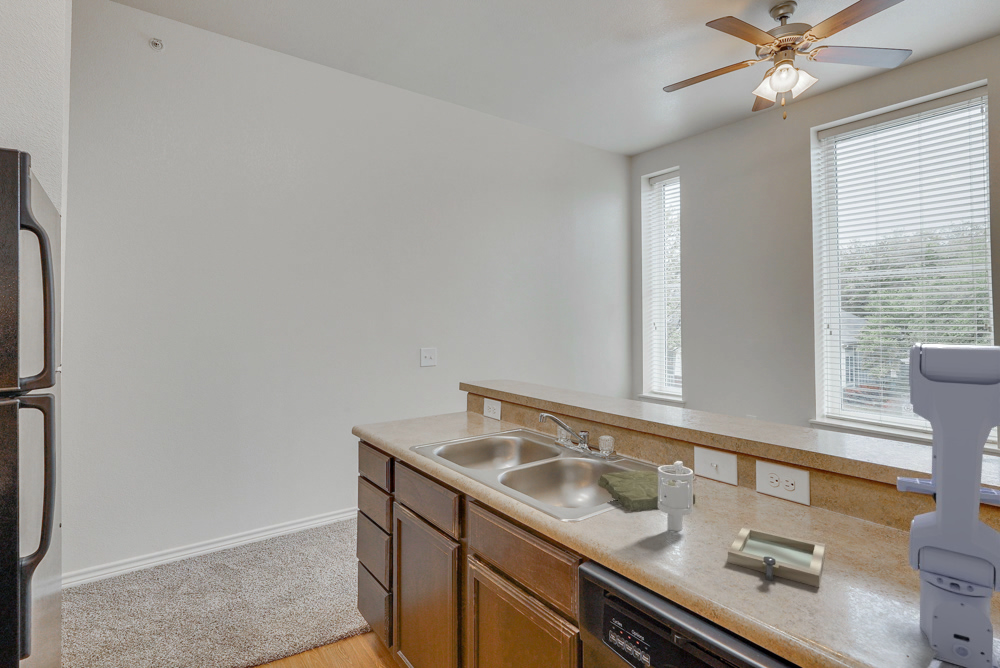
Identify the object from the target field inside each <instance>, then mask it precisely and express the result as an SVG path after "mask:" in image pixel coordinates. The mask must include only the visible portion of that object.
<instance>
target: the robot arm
mask: <svg viewBox="0 0 1000 668" xmlns="http://www.w3.org/2000/svg"><path fill="white" fill-rule="evenodd" d="M909 349H910V350H909V359H908V361H909V362H908V363H909V364H908V365H909V366H908V376H909V377H908V383H909V393H910V394H909V396H910V397H909V400H910V401H909V402H910V404H911V405H912V412H913V413H914V414H916V415H918V416H919V417H921V418H923V419H925V420H926V421H928V422H929V423H930V426H931V429H932V436H931V437H932V443H931V444H932V445H931V446H932V447H931V451H932V452H931V479H929V478H917V477H916V478H914V477H904V476H897V477H896V488H897V489H896V490H897V491H898V492H899V491H900V492H904V493H905V492H912V493H918V494H924V495H925V494H926V495H931V496H932V499H933V501H934V503H935V510H934V511H931V512H930V511H929V512H925V513H924V512H923V513H922V514H916V515H914V516H913V519H912V520H910V521H911V522H910V530H909V539H908V540H909V542H908V565H909V566H910V567H911V568H912V570H913V571H916V572H918V573H919V579H920V583H919V584H920V589H919V590H920V594H919V596H920V597H919V627H920V630H921V631H922V632H923V633H924V634H925V636H926V637H927V639H928V643H929V646H930V648H931V650H934V651H936V653H935V654H934V656H933V659H937V660H940V661H943V662H947V663H951V664H952V665H953V664H954V665H957V666H960V667H964V668H1000V664H999V662H998V660H997V657H996V656H995V653H994V627H993V623H992V621H991V605H992V604H991V603H992V598H994V592H996V593H1000V532H999V531H997V530H996V529H994V528H993V527H991V526H989V525H988V524H986V523H984V522H983V521H982V520H980V519H979V517H980V509H981V507H980V503H984V504H991V505H998V506H1000V490H999V489H995V488H994V489H993V488H989V487H984V486H981V485H982V470H983V453H984V448H985V445H986V443H987V440H988V439H989V436H990V434H991V431H992V429H994V428H997V427H999V426H1000V345H974V344H973V345H971V344H969V345H967V344H965V345H963V344H962V345H960V344H932V343H931V344H929V343H928V344H926V343H925V344H923V343H922V342H915V343H914V345H912V346H910V347H909Z"/></svg>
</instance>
